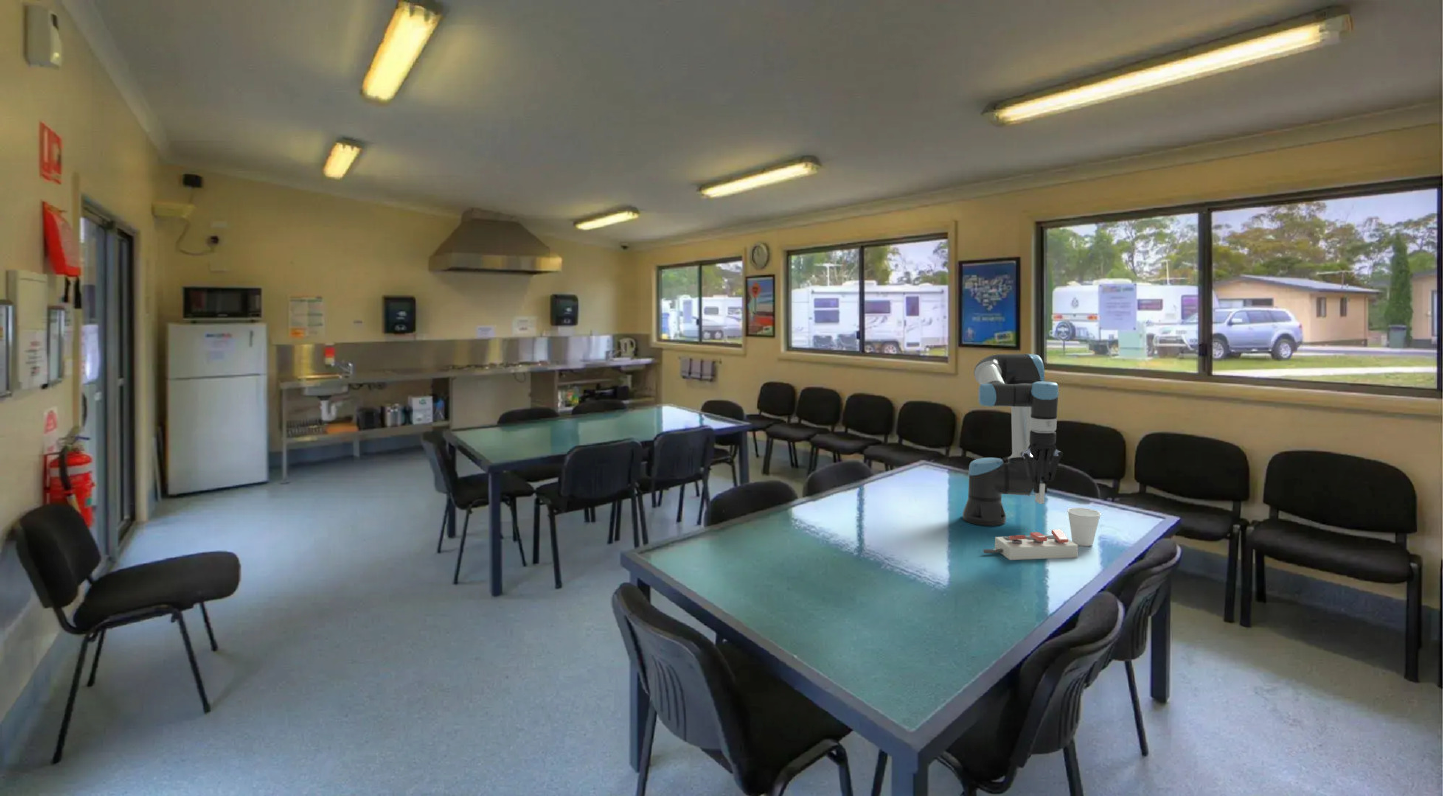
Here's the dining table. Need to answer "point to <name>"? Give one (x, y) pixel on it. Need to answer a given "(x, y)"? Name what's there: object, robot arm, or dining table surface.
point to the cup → (1083, 525)
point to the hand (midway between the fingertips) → (1039, 502)
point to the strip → (1033, 548)
